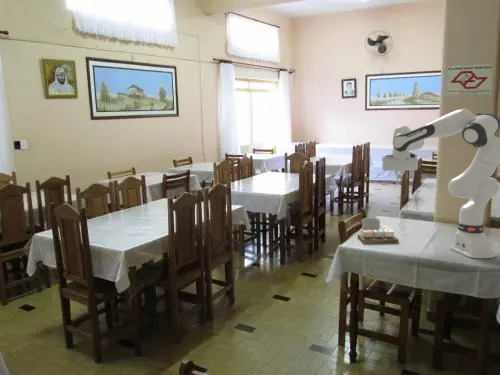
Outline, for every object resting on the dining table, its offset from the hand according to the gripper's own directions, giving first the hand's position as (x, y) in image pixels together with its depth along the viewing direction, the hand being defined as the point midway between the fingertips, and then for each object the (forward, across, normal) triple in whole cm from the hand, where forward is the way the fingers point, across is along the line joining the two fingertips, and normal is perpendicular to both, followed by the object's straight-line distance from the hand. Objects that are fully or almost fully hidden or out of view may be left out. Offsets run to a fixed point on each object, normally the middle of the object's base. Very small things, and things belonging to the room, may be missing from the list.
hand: (399, 178), depth 258 cm
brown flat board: (+34, -15, -11) cm, 39 cm away
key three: (+33, -21, -11) cm, 41 cm away
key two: (+33, -15, -11) cm, 38 cm away
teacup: (+34, -14, +7) cm, 38 cm away
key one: (+33, -9, -11) cm, 36 cm away
